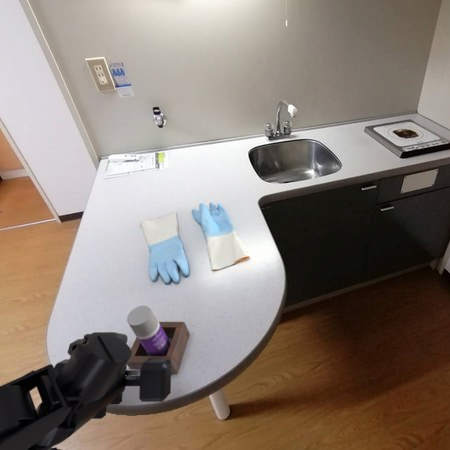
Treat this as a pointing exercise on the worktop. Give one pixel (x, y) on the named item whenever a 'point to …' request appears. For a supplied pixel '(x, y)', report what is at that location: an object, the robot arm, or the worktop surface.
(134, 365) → the frame
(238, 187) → the worktop surface
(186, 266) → the rubber gloves
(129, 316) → the container
